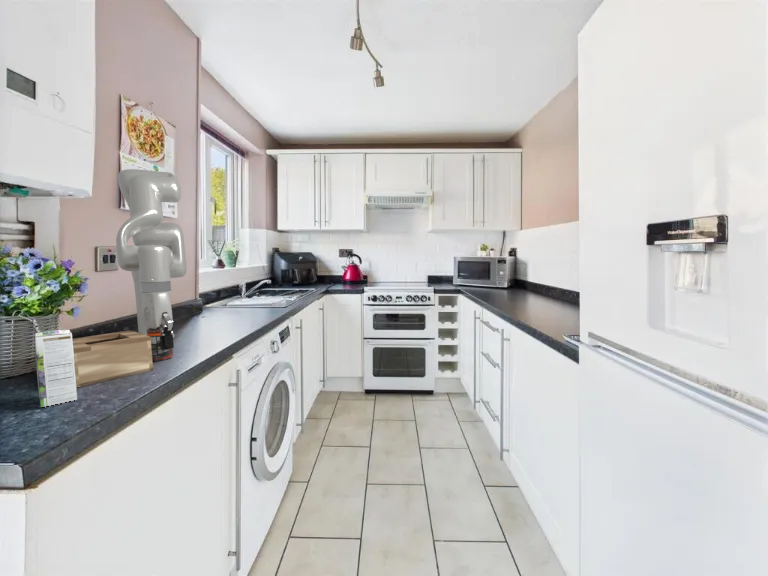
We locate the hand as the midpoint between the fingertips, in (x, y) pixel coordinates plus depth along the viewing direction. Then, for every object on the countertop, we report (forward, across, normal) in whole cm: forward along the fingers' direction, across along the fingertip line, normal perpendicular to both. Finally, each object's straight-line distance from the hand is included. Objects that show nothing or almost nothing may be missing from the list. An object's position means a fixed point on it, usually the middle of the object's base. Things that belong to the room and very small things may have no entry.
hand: (160, 346), depth 108 cm
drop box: (+4, +3, -14) cm, 15 cm away
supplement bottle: (+4, 0, 0) cm, 4 cm away
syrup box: (+4, +18, -26) cm, 32 cm away
